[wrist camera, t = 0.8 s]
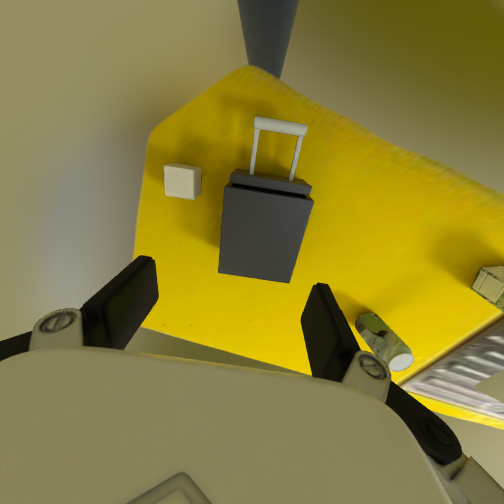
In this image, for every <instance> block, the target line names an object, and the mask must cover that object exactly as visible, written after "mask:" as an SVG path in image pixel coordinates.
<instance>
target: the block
mask: <svg viewBox="0 0 504 504" xmlns="http://www.w3.org/2000/svg"><path fill="white" fill-rule="evenodd" d="M164 180H165V195H167V196H173V197H179V198H186V199H192V200H193V199H195V198H196V197H197V196H199V195H200V194H201V167H196V166H190V165H184V164H178V163H174V164H168V165H164Z"/></svg>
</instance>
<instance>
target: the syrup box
mask: <svg viewBox="0 0 504 504" xmlns="http://www.w3.org/2000/svg"><path fill="white" fill-rule="evenodd" d="M471 290H473V291H474V292H476V293H477V294H478V295H480V296H481V297H483V298H484V299H486V300H487V301H488V302H490V303H491V304H493V305H494V306H495V307H497V308H498V309H500V310H501V311H503V312H504V266H496V267H482V268H481V269H480V271H479V273H478V275H477V277H476V279H475V281H474V283H473V284H472V286H471Z"/></svg>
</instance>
